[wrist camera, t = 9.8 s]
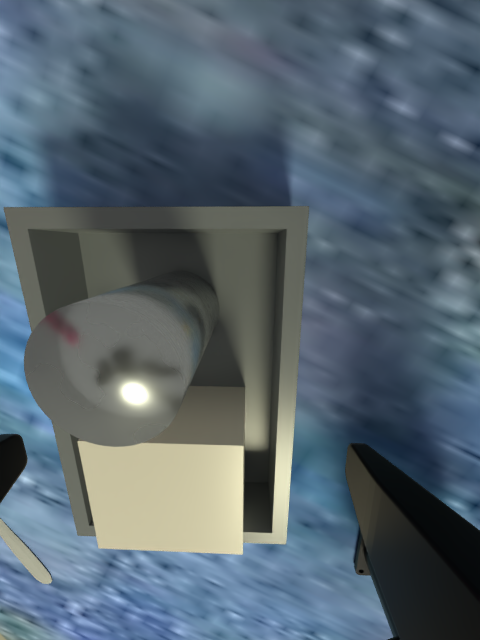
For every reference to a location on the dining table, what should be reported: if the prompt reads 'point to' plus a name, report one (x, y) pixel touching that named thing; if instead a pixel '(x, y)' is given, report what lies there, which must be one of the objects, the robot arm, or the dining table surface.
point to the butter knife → (24, 554)
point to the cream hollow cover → (175, 480)
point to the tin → (122, 358)
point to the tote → (229, 333)
